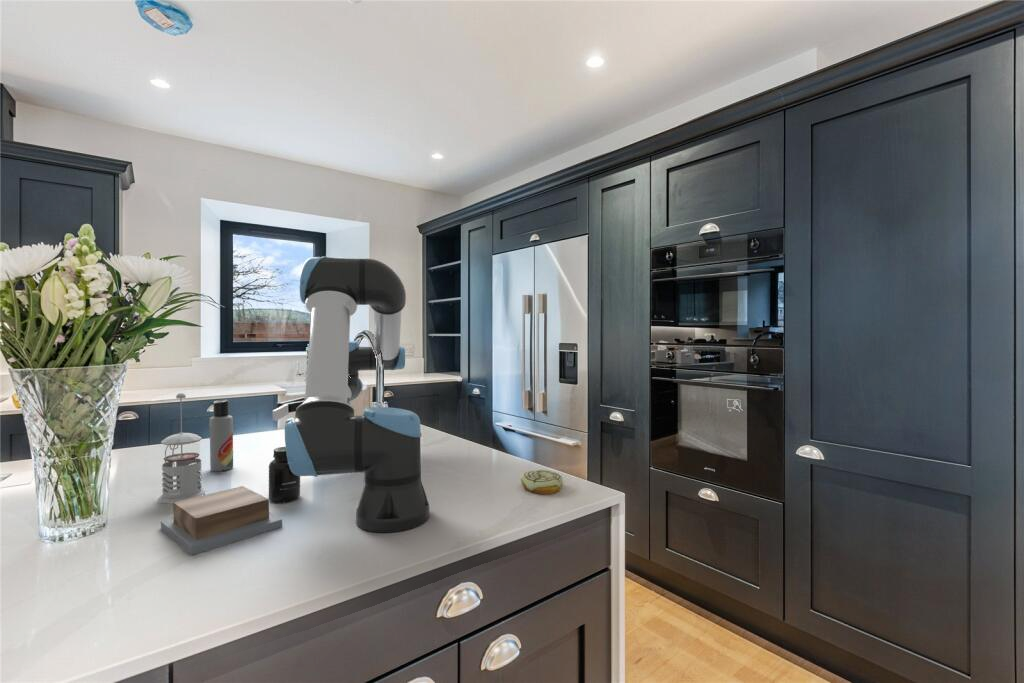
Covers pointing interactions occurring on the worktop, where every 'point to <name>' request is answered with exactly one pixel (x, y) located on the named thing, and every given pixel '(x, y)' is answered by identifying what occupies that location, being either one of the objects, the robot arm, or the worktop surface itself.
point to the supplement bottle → (282, 479)
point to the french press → (181, 468)
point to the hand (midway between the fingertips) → (300, 416)
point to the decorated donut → (542, 481)
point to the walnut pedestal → (220, 511)
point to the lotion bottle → (221, 437)
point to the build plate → (220, 538)
